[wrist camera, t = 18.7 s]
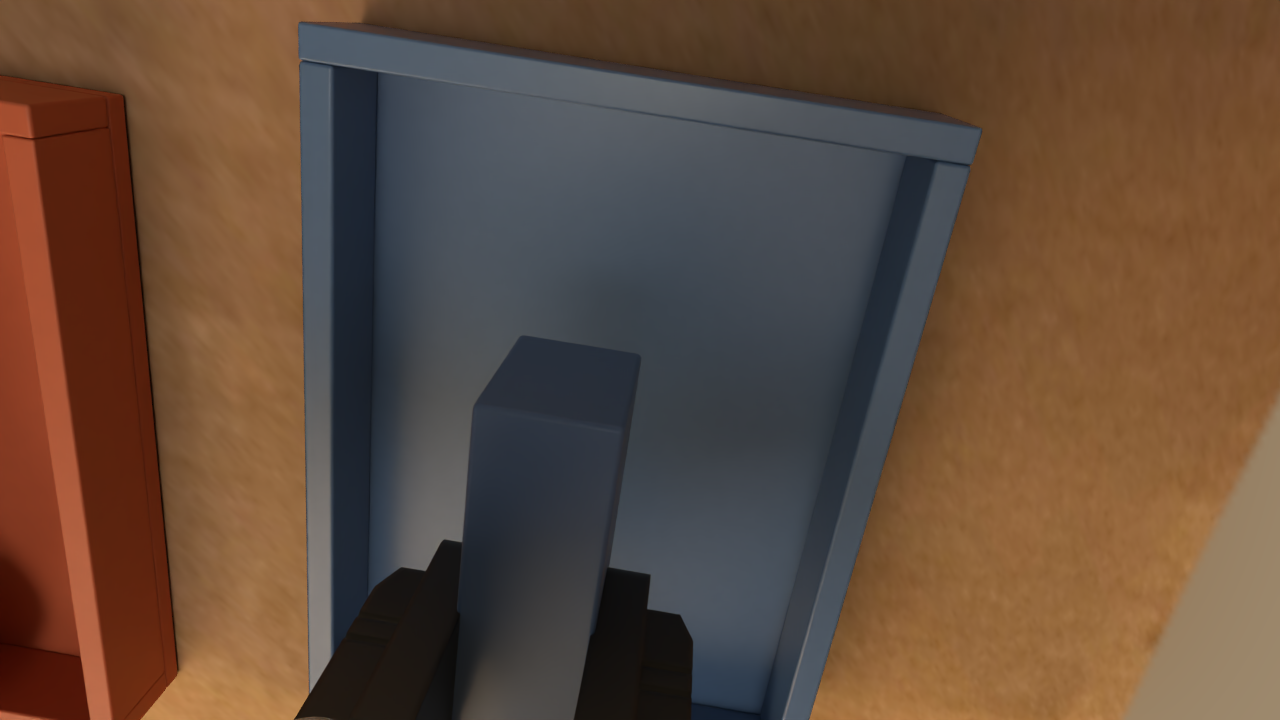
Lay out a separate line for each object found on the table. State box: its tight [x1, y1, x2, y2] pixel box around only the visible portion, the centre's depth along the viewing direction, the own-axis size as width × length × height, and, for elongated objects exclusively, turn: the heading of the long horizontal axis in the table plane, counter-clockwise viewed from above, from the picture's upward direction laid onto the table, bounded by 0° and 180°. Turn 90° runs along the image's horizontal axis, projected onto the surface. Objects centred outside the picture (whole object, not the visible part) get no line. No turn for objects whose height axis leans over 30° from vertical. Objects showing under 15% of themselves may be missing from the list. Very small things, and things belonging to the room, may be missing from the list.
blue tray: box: [298, 22, 982, 720], centre depth 17 cm, size 15×11×2 cm
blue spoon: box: [452, 335, 641, 720], centre depth 13 cm, size 12×4×3 cm, turn 172°
